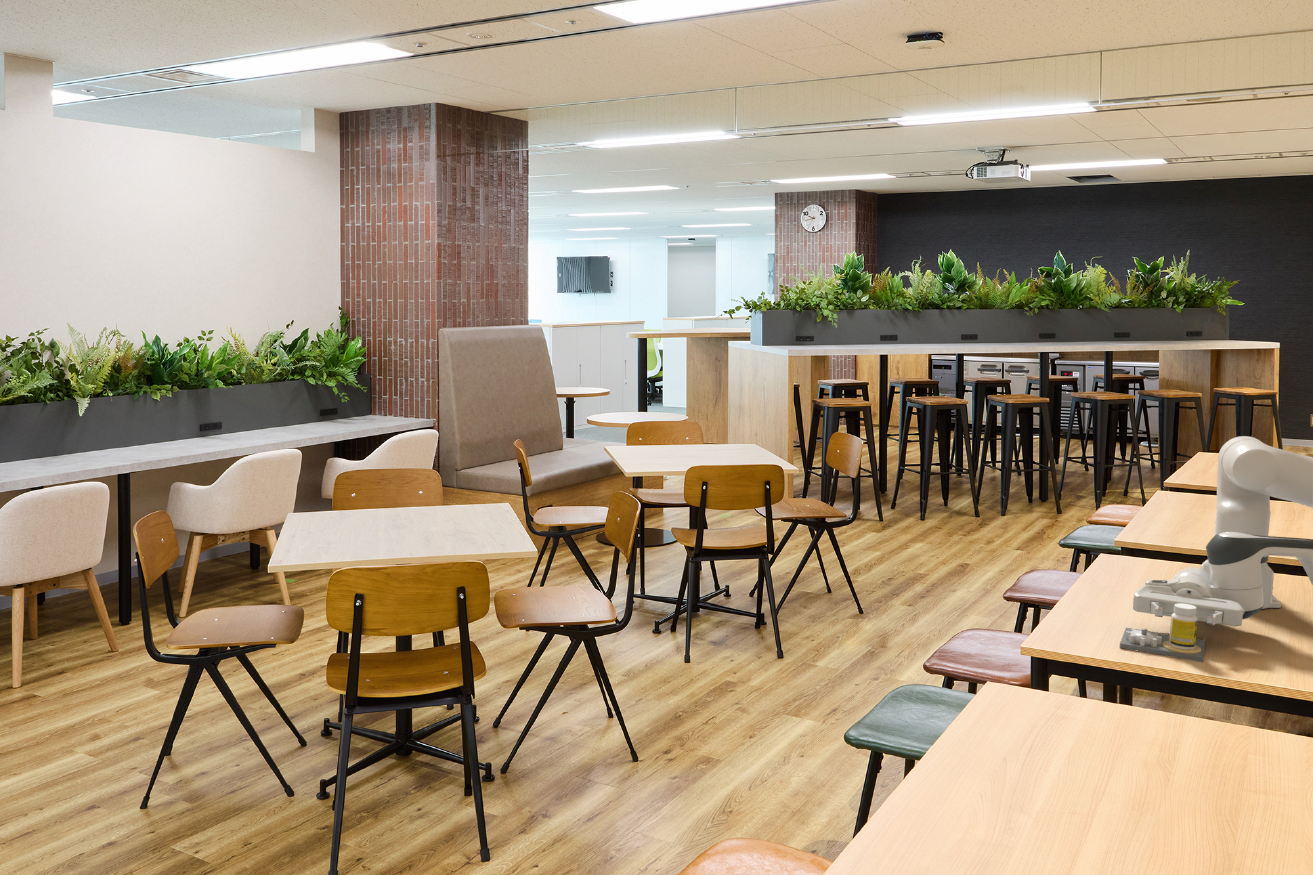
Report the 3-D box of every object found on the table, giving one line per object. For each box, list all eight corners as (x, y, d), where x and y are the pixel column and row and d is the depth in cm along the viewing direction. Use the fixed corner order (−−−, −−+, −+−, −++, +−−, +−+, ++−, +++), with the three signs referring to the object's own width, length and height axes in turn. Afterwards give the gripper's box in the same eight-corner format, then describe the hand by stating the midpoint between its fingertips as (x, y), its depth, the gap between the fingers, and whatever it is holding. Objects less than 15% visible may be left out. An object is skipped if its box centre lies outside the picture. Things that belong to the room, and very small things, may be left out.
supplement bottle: (1198, 651, 203) (1202, 610, 201) (1172, 649, 203) (1176, 608, 202) (1190, 643, 207) (1194, 603, 206) (1165, 641, 208) (1169, 601, 207)
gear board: (1125, 631, 218) (1127, 616, 217) (1204, 644, 211) (1206, 628, 210) (1119, 647, 208) (1121, 631, 207) (1202, 662, 200) (1204, 645, 200)
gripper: (1243, 622, 212) (1242, 641, 201) (1136, 606, 223) (1129, 623, 211) (1246, 593, 211) (1245, 610, 200) (1138, 578, 222) (1131, 594, 210)
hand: (1184, 617), depth 205 cm, fingers open, 8 cm apart
